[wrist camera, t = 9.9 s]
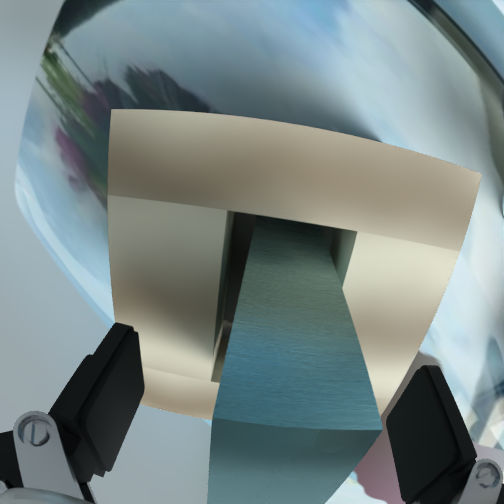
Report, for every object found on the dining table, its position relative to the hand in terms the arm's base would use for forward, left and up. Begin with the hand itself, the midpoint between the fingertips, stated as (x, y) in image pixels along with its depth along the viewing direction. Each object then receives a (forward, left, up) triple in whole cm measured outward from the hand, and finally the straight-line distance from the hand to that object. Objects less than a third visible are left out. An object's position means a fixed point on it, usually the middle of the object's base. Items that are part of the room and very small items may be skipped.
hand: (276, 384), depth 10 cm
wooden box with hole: (0, 0, -18) cm, 18 cm away
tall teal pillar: (0, 0, -8) cm, 8 cm away
